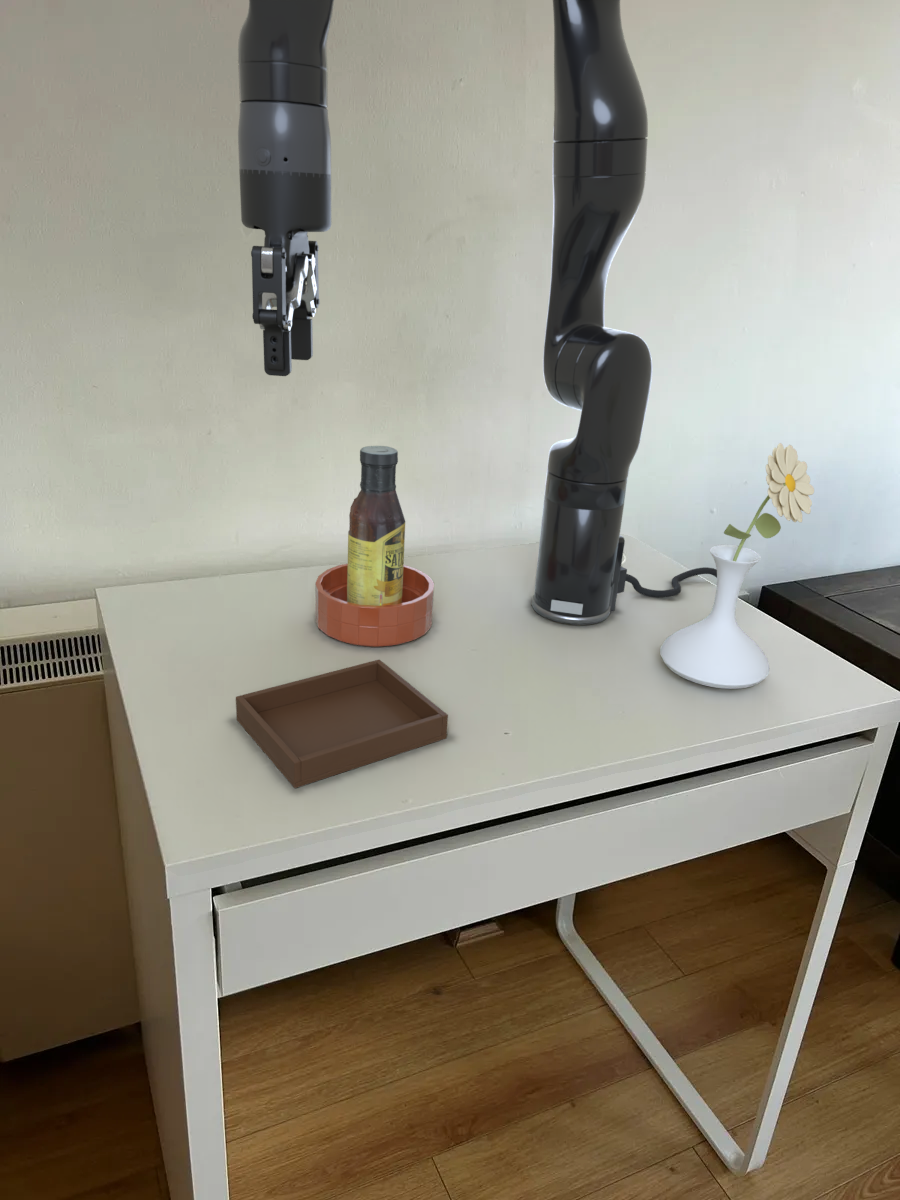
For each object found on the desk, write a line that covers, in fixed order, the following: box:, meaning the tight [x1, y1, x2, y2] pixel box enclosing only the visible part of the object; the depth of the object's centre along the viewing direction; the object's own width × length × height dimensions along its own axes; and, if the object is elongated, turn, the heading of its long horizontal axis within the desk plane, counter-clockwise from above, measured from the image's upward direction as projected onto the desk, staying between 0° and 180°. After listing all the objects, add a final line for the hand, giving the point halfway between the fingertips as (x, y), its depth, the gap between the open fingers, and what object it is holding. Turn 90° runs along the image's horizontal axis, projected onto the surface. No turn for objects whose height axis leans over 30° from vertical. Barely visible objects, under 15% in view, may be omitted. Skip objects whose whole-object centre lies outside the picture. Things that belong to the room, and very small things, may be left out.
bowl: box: [314, 562, 435, 648], centre depth 102 cm, size 13×13×5 cm
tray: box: [235, 659, 449, 789], centre depth 82 cm, size 15×12×2 cm
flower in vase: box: [659, 442, 815, 690], centre depth 92 cm, size 13×11×25 cm
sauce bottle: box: [347, 445, 406, 606], centre depth 99 cm, size 7×6×20 cm
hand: (289, 366), depth 81 cm, fingers open, 8 cm apart
